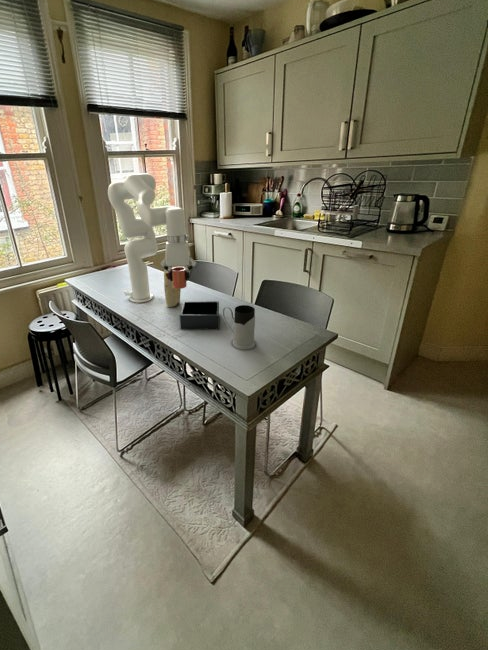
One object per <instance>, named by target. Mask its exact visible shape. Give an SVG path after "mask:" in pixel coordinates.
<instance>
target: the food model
mask: <svg viewBox="0 0 488 650" xmlns="http://www.w3.org/2000/svg"><path fill="white" fill-rule="evenodd" d="M175 267H176V266H172V268H175ZM163 289H164V297H165V303H166V307H167V308H173V307H176V306H179V305H180V303H181V292H182V291H181V290H182V289H176V288H173V283H172V281H170V279H169V273H168V272H167V270H166V269H164V270H163Z"/></svg>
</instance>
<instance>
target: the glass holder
mask: <svg viewBox="0 0 488 650" xmlns="http://www.w3.org/2000/svg"><path fill="white" fill-rule="evenodd" d="M226 309H228V310H229V311H230V313H231V315H230V316H231V319H232V320H233V328H232V327H231V326H230V325H229V323H228V321H227V319H226V316H225V315H226V314H225V310H226ZM222 318H223V321H224V323H225V325H226V326H227V328H228V329H229V330H230V331H231V332H232V334H233V340H232V345H233V347H235V348H236V349H240V350H251V349H253V348H254V347H255V346H256V343H255V327H256V325H255V324H256V308H255V307H254V306H252V305H247V304H241V305H240V304H239V305H237V306H235V307H234V313H233V310H232V308H231V307H230V306H225V307H224V308H223V309H222Z"/></svg>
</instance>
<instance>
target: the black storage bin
mask: <svg viewBox="0 0 488 650" xmlns="http://www.w3.org/2000/svg"><path fill="white" fill-rule="evenodd" d="M179 323H180V324H179V326H180V330H220V301H217V300H216V301H215V300H214V301H211V300H210V301H208V300H207V301H183V302H182V306H181V309H180V313H179Z"/></svg>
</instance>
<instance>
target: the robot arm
mask: <svg viewBox="0 0 488 650" xmlns="http://www.w3.org/2000/svg"><path fill="white" fill-rule="evenodd" d="M154 177H155V176H153V175H152V174H151V173H148V172H147V173H146V172H143V173H132V174H128V175H127V176H126V177H125V178H124V179H123V180H119V181H115V182H112V183H110V184H109V186H108V187H107V197H108V200H109V202H110V204H111V206H112V208H113V210H114V212H115V215H116V218H117V221H118V225H119V228H120V230H121V234H122V235H123V237H124V238H125V239H134V240H129V241H128V242H126V243H125V245H124V248H123V251H124V254H125V258H126V261H127V267H128V273H129V282H130V288H131V290H124V295H125V296H126V297H127V296H129V301H131V303H139V304H140V303H146V302H149V301H151V300H153V298H154V295H153V293H151V292H150V281H149V273H148V266H147V264H146V263H145V261H144V260H143V259H145V258H147V257H152V256H156V254H158V251H159V246H158V242H157V241H158V240H157V238H156V234H155V231H154V228H156V227H161V226H165V227H166V237H167V241H166V242H165V257H164V259H163V260H161V262H160V263H159V265H160V266H161V267H162V268H163V269H164V270H165V269H166V270H167V272H168V273H169V279H170V281H172V270H171V269H172V268H173V267H184V268H185V269H186V272H185V277H186V282H188V281H189V279H190V272H191V270H192V269H193V268H194V267H195V266H196V265H197V261H196V260H195V259H193V257H191V252H190V244H189V242H188V241H189V240H190V235H187V234H186V220H185V210H184V209H183V208H182V207H178V206H177V207H176V206H173V205H163V206H156V207H155V206H154V207H150V206H151V205H152V204H153V203H154V201H155V200H156V192H155V190H156V186H157V182H156V179H155V178H154ZM133 199H135V201H136V202H137V203H136V209H137V213H138V217H136V216H135V212H134V210H133V208H132V206H131V205H130V204H129V203H128V202H126V200H133ZM140 237H142V238H140ZM135 238H139V239H135ZM190 263H191V264H190Z"/></svg>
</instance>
